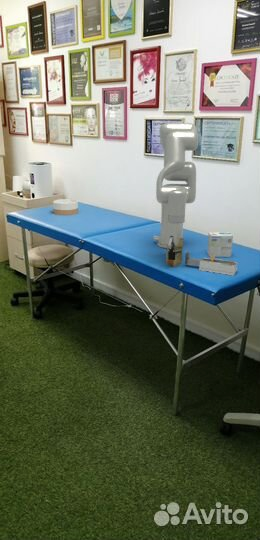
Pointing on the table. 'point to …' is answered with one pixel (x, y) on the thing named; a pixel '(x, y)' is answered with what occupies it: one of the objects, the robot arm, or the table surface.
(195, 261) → the plunger
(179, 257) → the shoe polish box
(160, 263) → the table surface
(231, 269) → the gauge rail
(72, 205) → the bowl
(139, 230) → the table surface
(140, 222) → the table surface
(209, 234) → the light bulb box
